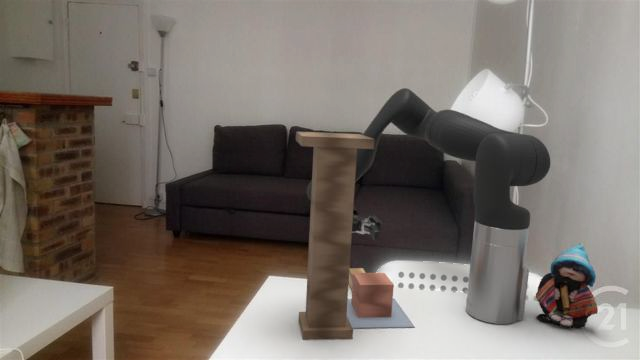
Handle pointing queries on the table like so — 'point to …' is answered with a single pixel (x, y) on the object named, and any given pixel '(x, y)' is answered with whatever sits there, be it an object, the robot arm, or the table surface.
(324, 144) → the wooden pedestal column
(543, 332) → the table surface
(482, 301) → the robot arm
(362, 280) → the mallet
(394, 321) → the pad
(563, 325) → the figurine
